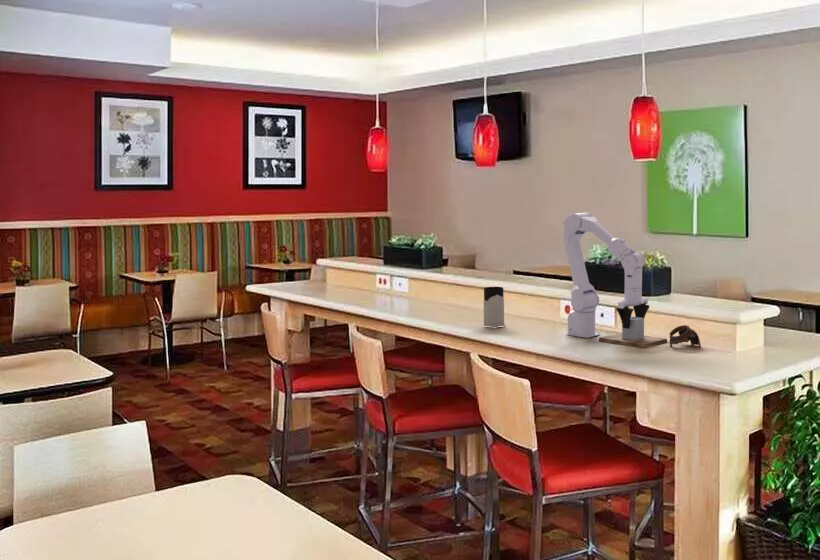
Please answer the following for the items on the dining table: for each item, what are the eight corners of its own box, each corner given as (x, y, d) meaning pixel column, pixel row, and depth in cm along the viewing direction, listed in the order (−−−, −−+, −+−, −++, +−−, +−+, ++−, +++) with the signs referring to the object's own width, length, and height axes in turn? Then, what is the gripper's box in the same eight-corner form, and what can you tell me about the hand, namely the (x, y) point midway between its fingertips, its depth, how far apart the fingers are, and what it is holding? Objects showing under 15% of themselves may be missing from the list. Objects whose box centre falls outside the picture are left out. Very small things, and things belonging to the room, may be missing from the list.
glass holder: (487, 328, 329) (486, 289, 327) (475, 323, 342) (474, 285, 341) (508, 327, 331) (508, 288, 329) (496, 321, 345) (495, 284, 343)
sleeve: (622, 338, 298) (622, 318, 297) (631, 336, 301) (631, 316, 300) (634, 340, 294) (634, 319, 293) (643, 338, 297) (644, 318, 296)
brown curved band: (705, 351, 281) (694, 330, 279) (677, 362, 284) (667, 342, 282) (699, 335, 293) (689, 315, 290) (673, 346, 295) (662, 327, 293)
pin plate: (598, 340, 300) (598, 327, 299) (623, 335, 309) (623, 322, 308) (643, 347, 286) (643, 334, 286) (667, 342, 295) (667, 328, 295)
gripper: (630, 290, 288) (629, 331, 289) (655, 286, 297) (655, 325, 299) (612, 289, 293) (612, 328, 295) (638, 284, 302) (637, 323, 304)
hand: (632, 326), depth 297 cm, fingers open, 7 cm apart
